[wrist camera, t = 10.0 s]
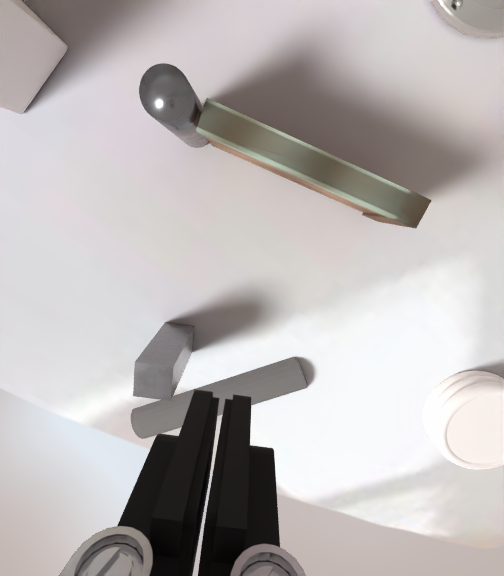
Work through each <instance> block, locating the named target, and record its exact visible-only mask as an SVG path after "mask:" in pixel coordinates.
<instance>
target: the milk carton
mask: <svg viewBox="0 0 504 576" xmlns="http://www.w3.org/2000/svg"><path fill="white" fill-rule="evenodd" d="M67 49H68V46H67V45H66V44H65V43H64V42H63V41H62V40H61V39H60V38H59V37H58V36H57V35H56V34H55V33H54V32H53V31H52V30H51V29H50V28H49V27H48V26H47V25H46V24H45V23H44V22H43V21H42V20H41V19H40V18H39V17H38V16H36V15H35V14H34V13H33V12H32V11H31V10H30V9H29V8H28V7H27V6H26V5H25V4H24V3H23V2H22V1H21V0H0V107H1V108H4V109H7V110H10V111H12V112H15V113H18V114H22V113H23V112H24V111H25V110H26V108H27V107H28V105H29V104H30V103H31V101H32V100H33V98H34V97H35V96H36V94H37V93H38V91H39V90H40V88H41V87H42V86H43V84H44V83H45V81H46V80H47V78H48V77H49V76H50V74H51V73H52V71H53V70H54V68H55V67H56V66H57V64H58V63H59V61H60V60H61V58H62V57H63V56H64V54H65V53H66V51H67Z"/></svg>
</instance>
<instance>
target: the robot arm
mask: <svg viewBox="0 0 504 576" xmlns="http://www.w3.org/2000/svg"><path fill="white" fill-rule="evenodd" d="M430 2H431V4H432V5H433V7H434V8H435V10H436V11H437V13H438V14H439V15H440V17H441V18H442V19H443V20H445V21H446V22H447V23H448V24H449V25H450V26H451V27H453V28H455V29H456V30H458V31H460V32H462V33H464V34H466V35H470V36H474V37H477V38H499V37H504V0H430ZM218 407H219V398H217V397H213V392H211V391H204V390H196V389H195V390H194V393H193V396H192V399H191V402H190V405H189V407H188V410H187V413H186V416H185V419H184V422H183V425H182V428H181V431H180V434H179V436H173V435H166V434H158V435H157V436H156V438H155V440H154V442H153V445H152V447H151V449H150V452H149V454H148V456H147V459H146V461H145V463H144V466H143V468H142V470H141V473H140V475H139V477H138V480H137V482H136V484H135V486H134V489H133V491H132V493H131V496H130V498H129V500H128V503H127V505H126V507H125V510H124V512H123V514H122V517H121V519H120V521H119V524H118V526H117V527H112V528H107V529H105V530H103V531H100V532H98V533H96V534H94V535H93V536H92V537H91V538H89V539H88V540H86V541H85V542H84V543H83V544H82V545H81V546H80V547H79V548H78V549H77V551H76V552H75V553H74V554H73V555H72V557H71V558H70V560H69V561H68V563H67V564H66V566H65V567H64V569H63V570H62V572H61V573H60V575H59V576H192V574H193V569H194V563H195V557H196V552H197V546H198V540H199V534H200V529H201V523H202V517H203V512H204V506H205V500H206V495H207V489H208V483H209V477H210V469H211V462H212V454H213V446H214V438H215V430H216V422H217V415H218ZM250 423H251V397H249V396H242V395H234V394H233V399H225V404H224V410H223V416H222V422H221V428H220V434H219V440H218V446H217V452H216V458H215V464H214V470H213V476H212V482H211V488H210V494H209V500H208V506H207V512H206V519H205V525H204V533H203V541H202V548H201V556H200V563H199V571H198V576H306V575H305V572H304V570H303V568H302V567H301V566H300V564H299V563H298V561H297V560H296V559H295V558H294V557H293V556H292V555H291V554H289V553H288V552H287V551H286V550H284V549H282V548H280V542H279V524H278V510H277V509H278V508H277V492H276V477H275V461H274V450H273V448H266V447H258V446H251V445H250Z"/></svg>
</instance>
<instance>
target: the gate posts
mask: <svg viewBox="0 0 504 576" xmlns="http://www.w3.org/2000/svg"><path fill="white" fill-rule="evenodd" d="M139 94H140V99H141V102H142V105H143V107H144V108H145V110H146V111H147V112H148V113H149V114H150V115H151V116H152V117H153V118H155V119H156V120H157V121H158V122H160V123H161V124H162V125H163V126H165V127H166V128H167V129H168V130H170V131H171V132H172V133H174V134H175V135H176V136H177V137H179V138H180V139H181V140H182V141H184V142H185V143H186V144H188V145H189V146H191V147H195V148H199V147H203V146H205V145H206V144H208V143H209V141H208V140H207V138H206V137H205V136H203V135H201V134H199V133H198V132H197V131H196V129H197V126H198V123H199V120H200V117H201V114H202V111H203V108H204V107H203V106H202V104H201V102H200V100H199V99H198V97H197V95H196V94H195V92H194V90H193V89H192V87H191V85H190V83H189V82H188V80H187V78H186V77H185V75H184V74H183V73H182V72H181V71H180V70H179V69H178V68H176V67H175V66H173V65H170V64H157V65H154V66H152V67H151V68H149V69H148V70H147V71H146V72H145V74H144V75H143V77H142V79H141V82H140V87H139ZM193 334H194V326H188V325H180V324H173V323H166V322H165V323H164V325H163V326H162V327H161V329H160V330H159V331H158V333H157V334H156V335H155V336H154V338H153V339H152V340H151V342H150V343H149V344H148V346H147V347H146V348H145V350H144V351H143V352H142V354H141V355H140V356H139V357H138V359H137V360H136V361H135V371H134V391H133V396H137V397H145V398H153V399H160V400H168V401H171V399H172V397H173V394H174V392H175V390H176V388H177V385H178V383H179V381H180V378H181V376H182V374H183V372H184V369H185V367H186V365H187V362H188V360H189V358H190V356H191V353H192V344H193Z"/></svg>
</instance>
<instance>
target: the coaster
mask: <svg viewBox="0 0 504 576" xmlns="http://www.w3.org/2000/svg"><path fill="white" fill-rule="evenodd" d="M423 423H424V427H425V430H426V432H427V434H428V435H429V437H430V438H431V439H432V440H433V442H434V444H435V445H436V446H437V447H438V449H439V451H440V452H441V453H442V454H443V455H444V456H445V457H446V458H447V459H448V460H450V461H451V462H453V463H454V464H456V465H459V466H461V467H464V468H469V469H490V468H495V467H499V466H501V465H504V379H503V378H502V377H500V376H498V375H496V374H493V373H490V372H485V371H466V372H462V373H458V374H455V375H453V376H451V377H449V378H447V379H445V380H444V381H442V382H441V383H440V384H439V385H438V386H436V387H435V389H434V390H433V391H432V392H431V393H430V395H429V396H428V398H427V400H426V402H425V404H424V408H423Z"/></svg>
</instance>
